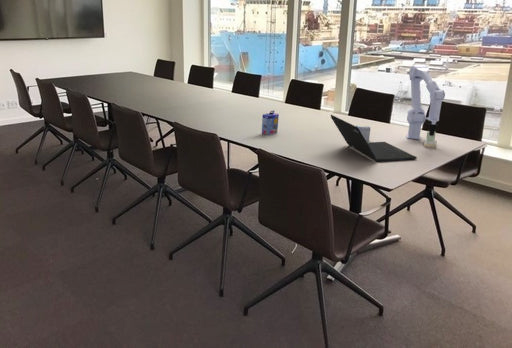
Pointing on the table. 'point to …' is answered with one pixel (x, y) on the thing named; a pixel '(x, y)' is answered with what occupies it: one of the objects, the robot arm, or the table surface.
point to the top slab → (429, 142)
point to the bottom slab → (429, 145)
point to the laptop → (369, 144)
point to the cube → (430, 137)
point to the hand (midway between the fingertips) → (431, 133)
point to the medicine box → (365, 131)
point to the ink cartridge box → (270, 123)
